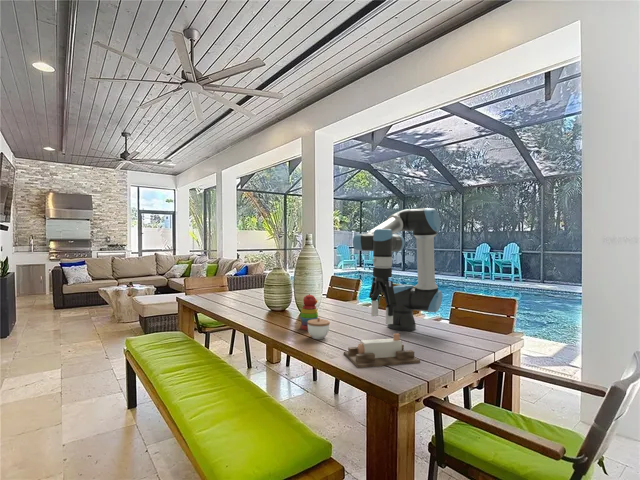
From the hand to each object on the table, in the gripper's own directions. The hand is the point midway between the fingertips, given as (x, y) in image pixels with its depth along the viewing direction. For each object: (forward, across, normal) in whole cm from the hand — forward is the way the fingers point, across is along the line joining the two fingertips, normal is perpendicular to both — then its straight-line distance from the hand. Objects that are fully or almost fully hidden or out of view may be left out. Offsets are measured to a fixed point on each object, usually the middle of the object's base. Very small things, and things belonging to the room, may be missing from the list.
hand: (381, 319), depth 141 cm
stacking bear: (+16, -52, -17) cm, 57 cm away
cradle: (+15, 0, 0) cm, 15 cm away
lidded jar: (+16, -34, -17) cm, 41 cm away
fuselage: (+14, 0, 0) cm, 14 cm away
